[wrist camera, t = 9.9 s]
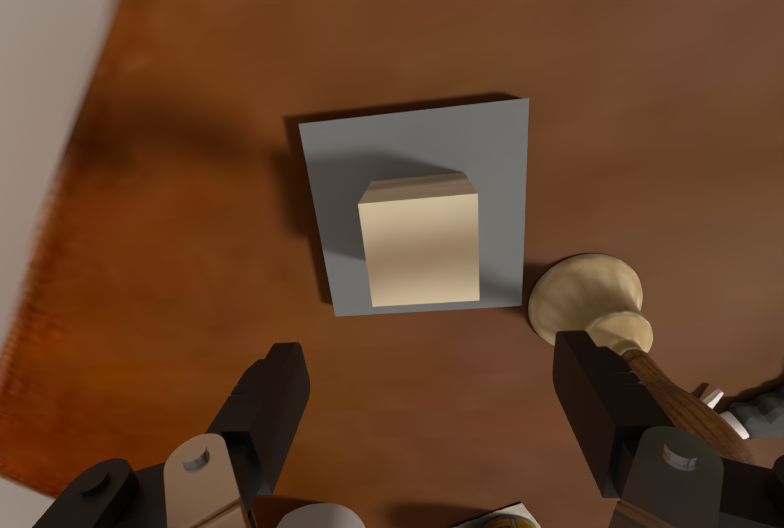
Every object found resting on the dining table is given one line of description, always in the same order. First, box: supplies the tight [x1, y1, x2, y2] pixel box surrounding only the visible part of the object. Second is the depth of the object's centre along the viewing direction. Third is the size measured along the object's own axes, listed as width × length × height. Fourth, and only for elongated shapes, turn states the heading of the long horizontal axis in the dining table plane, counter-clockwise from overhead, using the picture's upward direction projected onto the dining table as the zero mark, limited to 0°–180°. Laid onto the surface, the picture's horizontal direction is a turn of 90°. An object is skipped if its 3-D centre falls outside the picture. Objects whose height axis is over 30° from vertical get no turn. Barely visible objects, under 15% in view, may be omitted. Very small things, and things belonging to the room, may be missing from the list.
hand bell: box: [528, 254, 759, 466], centre depth 21 cm, size 8×8×16 cm
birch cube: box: [358, 172, 479, 307], centre depth 23 cm, size 6×6×6 cm
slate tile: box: [299, 98, 529, 316], centre depth 26 cm, size 14×14×2 cm
